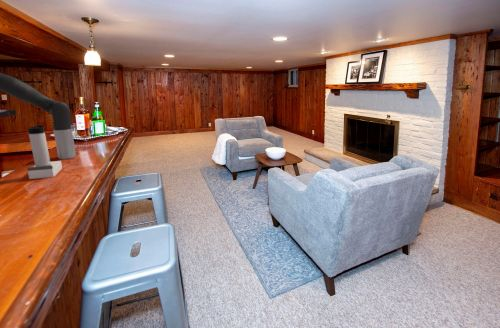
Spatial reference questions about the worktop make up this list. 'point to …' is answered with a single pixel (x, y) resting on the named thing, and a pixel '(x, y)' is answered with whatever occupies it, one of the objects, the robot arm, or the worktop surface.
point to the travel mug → (39, 146)
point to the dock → (44, 170)
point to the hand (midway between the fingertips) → (12, 113)
